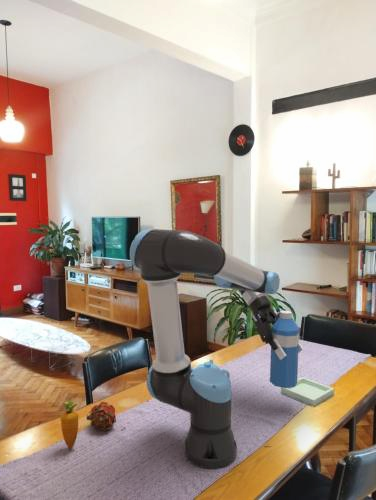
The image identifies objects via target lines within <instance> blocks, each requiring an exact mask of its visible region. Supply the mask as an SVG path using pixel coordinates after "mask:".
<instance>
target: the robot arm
mask: <svg viewBox="0 0 376 500" xmlns="http://www.w3.org/2000/svg"><path fill="white" fill-rule="evenodd" d="M129 259H130V262H131V264H132V265H133V266H134V267H135V268H137V269H138V270H139V271H140V278H141V279H140V280H142V281H143V282H144V283H146V286H147V292H148V301H149V308H150V310H149V311H150V317H151V324H152V331H153V332H152V333H153V340H154V341H153V342H154V348H155V349H154V350H155V356H156V358H155V359H153V361H152V363H151V364H152V365H150V367H149V370H148V375H146V388H147V391H148V393H149V395H150V396H151V397H152V398H154V399H155V400H157V401H159V402H160V403H163V404H165V405H166V404H167V405H170V406H171V407H175V408H177V409H179V410H181V411H184V412H186V413H189V415H190V419H189V421H190V425H189V429H188V431H187V435H186V438H185V441H184V446H183V449H184V453H183V454H184V457H186V459H187V460H188V461H189V463H191V464H193V465H195V466H197V467H200V468H203V469H204V468H205V469H219V468H224V467H227V466H229V465H230V464H232V463H233V462H234V461H235V460H236V458H237V456H238V455H237V453H238V449H237V448H238V446H237V441H236V440H235V435H234V432H233V429H232V395H233V391H232V383H231V380H230V377H228V376H227V374H226V373H224V372H222V371H220V370H221V369H220V370H218V369H215V368H211V367H209V368H207V367H199V368H196V367H195V368H196V369H194V370H192V369H191V367H192V363H191V358H190V357H189V356H188V355H187V354H185V346H184V337H183V328H182V326H183V325H182V317H181V308H180V301H179V300H180V299H179V298H180V297H179V289H178V279H179V278H180V276H181V275H182V274H185V275H186V274H190V275H200V276H204V277H207V278H212V277H213V278H214V279H213V280H214V282H215V285H217V287H219V288H222V289H231V290H237V292H239V294H240V295H241V297H242V298H243V300H244V302H245V303H246V304H247V305H248V308H249V310H250V311H251V313H252V314H253V316H252V317H251V320H252V321H253V323H254V326H255V328H256V330H257V333H258V335H259V337H260V339H261V341H262V343H265V344H266V345H269V346H270V348H271V347H272V349H273V350H274V351H275V353H276V354H277V356H278V357H279V359H280V360H281V359H283V358H284V357H285V356H286V354H285V352H284V351H283V349H282V348H281V346H280V345H279V343H278V341H277V340H276V339H274V340H273V335H272V331H271V329H272V326H273V325H274V324H275V322H276V321H277V320H278V319H279V317H280V311H281V309H280V308H277V309H275V310H274V309H273V308H272V307H271V306H272V303H271V301H270V300H269V298H268V297H267V296H266V295H275V294H277V292H278V291H279V289H280V284H281V283H280V279H281V278H280V276H279V274H278V273H277V272H276V271H275V272H274V271H270V270H268V271H267V270H263V269H261V268H258V267H257V266H255V265H252V264H251V263H249V262H246V261H244V260H242V259H240V258H239V257H236V256H235V255H232V254H230V253H228V252H227V251H225V248H224V247H223V246H222V245H221V244H219V243H216V242H215V241H212V240H211V239H209V238H206V236H202V235H200V234H197V233H194V232H192V231H189V230H181V229H179V230H178V229H176V230H175V229H158V228H151V229H144V230H141V231H139V233H137V234H136V235H135V237H134V239H133V240H132V242H131V243H130V248H129ZM271 324H272V326H271ZM303 350H304V348H303V346H302V344H301V343H300V342H299V347H298V354H300V353H301V352H302V351H303Z"/></svg>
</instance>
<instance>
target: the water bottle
mask: <svg viewBox="0 0 376 500" xmlns="http://www.w3.org/2000/svg"><path fill="white" fill-rule="evenodd" d="M271 331H272V335H273V340H274V339H276V340H277V341H278V343H279V345H280V346H281V348H282V349H283V351H284V352H285V354H286V356H285V357H284V358H283V359H281V360H280V359H279V357H278V356H277V354H276V353H275V351H274V350H273V349H272V347H271V346H270V362H269V363H270V365H269V367H270V368H269V369H270V370H269V371H270V372H269V382H270V384H272V385H273V386H274V387H279V388H281V387H282V388H291V387H295V386H296V384H297V379H298V371H299V353H298V347H299V343H300V328H299V326H298V325H297V323H296V321H295V320H294V319H293V312H292V311H290V310H280V317H279V319H278V320H277V321H276V322H275V324H274V325H273V324H272V326H271Z"/></svg>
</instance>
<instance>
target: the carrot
mask: <svg viewBox="0 0 376 500" xmlns="http://www.w3.org/2000/svg"><path fill="white" fill-rule="evenodd" d="M74 400H75V399H74V398H71V399H70V403H69V402H68V401H64V407H65V410H64V411H63V412H62V413H60V426H61V433H62V436H63V440H64V443H65V445H66V447H67V448H68V449H69V450H71V449H73V448H74V446H75V444H76V440H77V437H78V432H79V431H78V430H79V414H78V412H77V410H76V409H74V408H75V407H77V406H78V405H79V404H78V403H77V402H75V403H74Z"/></svg>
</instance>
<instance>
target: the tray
mask: <svg viewBox="0 0 376 500" xmlns="http://www.w3.org/2000/svg"><path fill="white" fill-rule="evenodd" d="M281 393H283V394H282V395H284V394H285V395H284V396H286V395H287V396H286V397H288V396H289V397H288V398H290V399H291V398H292V399H293V400H296V401H298V402H301V403H303V404H306V405H308V406H310V407H313V408H315V407H316V406H318V405H320V404H321V403H323V402H325V401H326V400H328V399H330V398H332V397H333V396H335V388H333V387H330V386H328V385H326V384H322V383H320V382H317V381H315V380H311V379H309V378H305V377H303V376H301V377H299V378H297V384H296V386H295V387H291V388H282V387H280V394H281Z"/></svg>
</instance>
